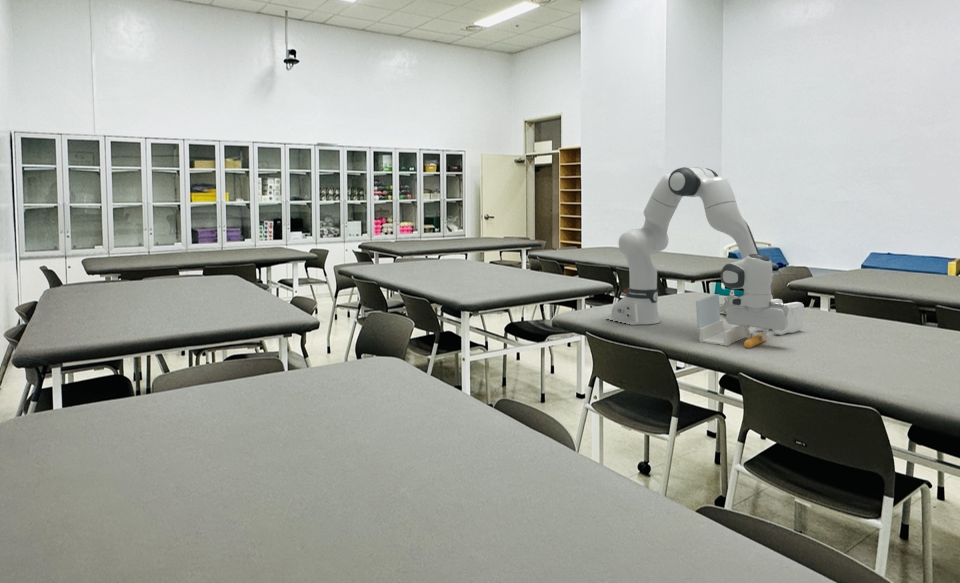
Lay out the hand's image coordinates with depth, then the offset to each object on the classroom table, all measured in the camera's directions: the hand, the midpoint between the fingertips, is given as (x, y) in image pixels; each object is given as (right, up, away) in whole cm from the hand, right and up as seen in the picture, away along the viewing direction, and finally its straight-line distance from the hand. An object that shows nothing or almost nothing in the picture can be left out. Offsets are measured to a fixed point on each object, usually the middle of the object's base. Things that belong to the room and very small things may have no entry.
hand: (755, 339), depth 225 cm
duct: (-8, -1, +8) cm, 12 cm away
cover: (-13, +10, +10) cm, 19 cm away
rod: (0, -2, 0) cm, 2 cm away
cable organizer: (+17, +1, +19) cm, 25 cm away
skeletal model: (+12, +6, +52) cm, 54 cm away
